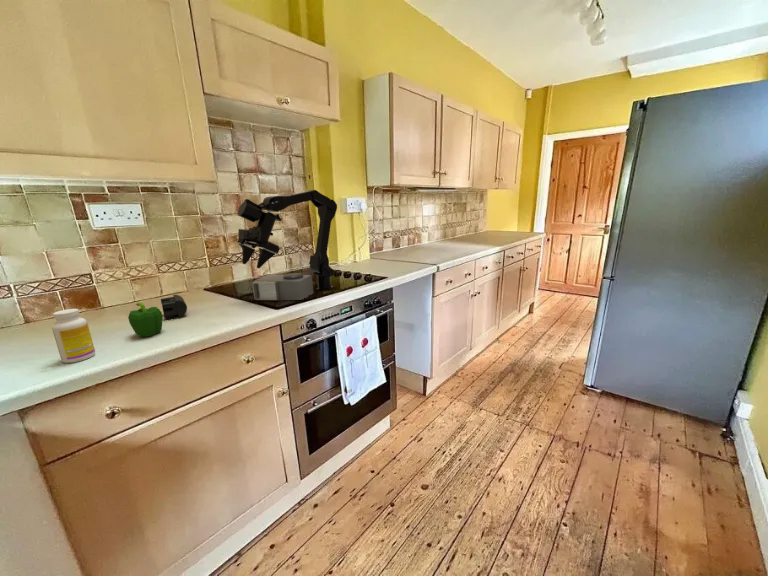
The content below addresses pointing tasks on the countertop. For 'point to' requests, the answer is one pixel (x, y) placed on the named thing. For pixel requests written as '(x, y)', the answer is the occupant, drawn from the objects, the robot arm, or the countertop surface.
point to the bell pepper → (146, 320)
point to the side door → (265, 290)
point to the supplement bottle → (72, 336)
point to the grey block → (292, 285)
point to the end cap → (173, 307)
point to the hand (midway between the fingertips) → (250, 266)
